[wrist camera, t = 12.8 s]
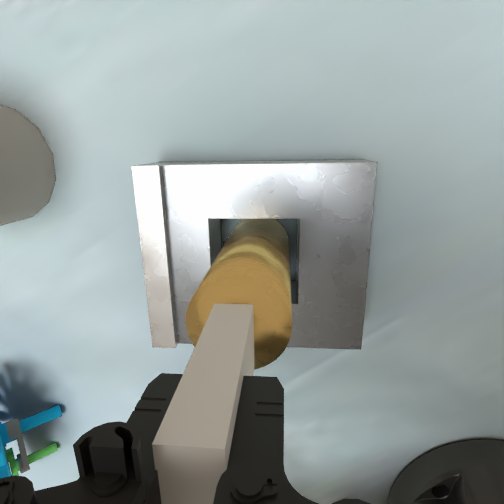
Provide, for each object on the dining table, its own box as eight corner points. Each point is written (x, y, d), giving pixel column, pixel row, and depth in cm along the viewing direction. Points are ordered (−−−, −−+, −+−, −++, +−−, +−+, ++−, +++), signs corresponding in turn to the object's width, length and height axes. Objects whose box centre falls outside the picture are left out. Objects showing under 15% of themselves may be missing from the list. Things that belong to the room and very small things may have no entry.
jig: (362, 159, 23) (379, 162, 19) (350, 320, 27) (363, 354, 22) (158, 162, 25) (131, 166, 20) (173, 315, 28) (152, 347, 24)
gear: (-39, 358, 29) (-29, 453, 23) (41, 335, 33) (70, 412, 26) (-14, 444, 34) (1, 543, 28) (54, 416, 38) (81, 497, 31)
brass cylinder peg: (289, 215, 25) (292, 275, 13) (288, 273, 26) (291, 372, 15) (228, 215, 25) (181, 273, 14) (230, 272, 27) (189, 368, 15)
